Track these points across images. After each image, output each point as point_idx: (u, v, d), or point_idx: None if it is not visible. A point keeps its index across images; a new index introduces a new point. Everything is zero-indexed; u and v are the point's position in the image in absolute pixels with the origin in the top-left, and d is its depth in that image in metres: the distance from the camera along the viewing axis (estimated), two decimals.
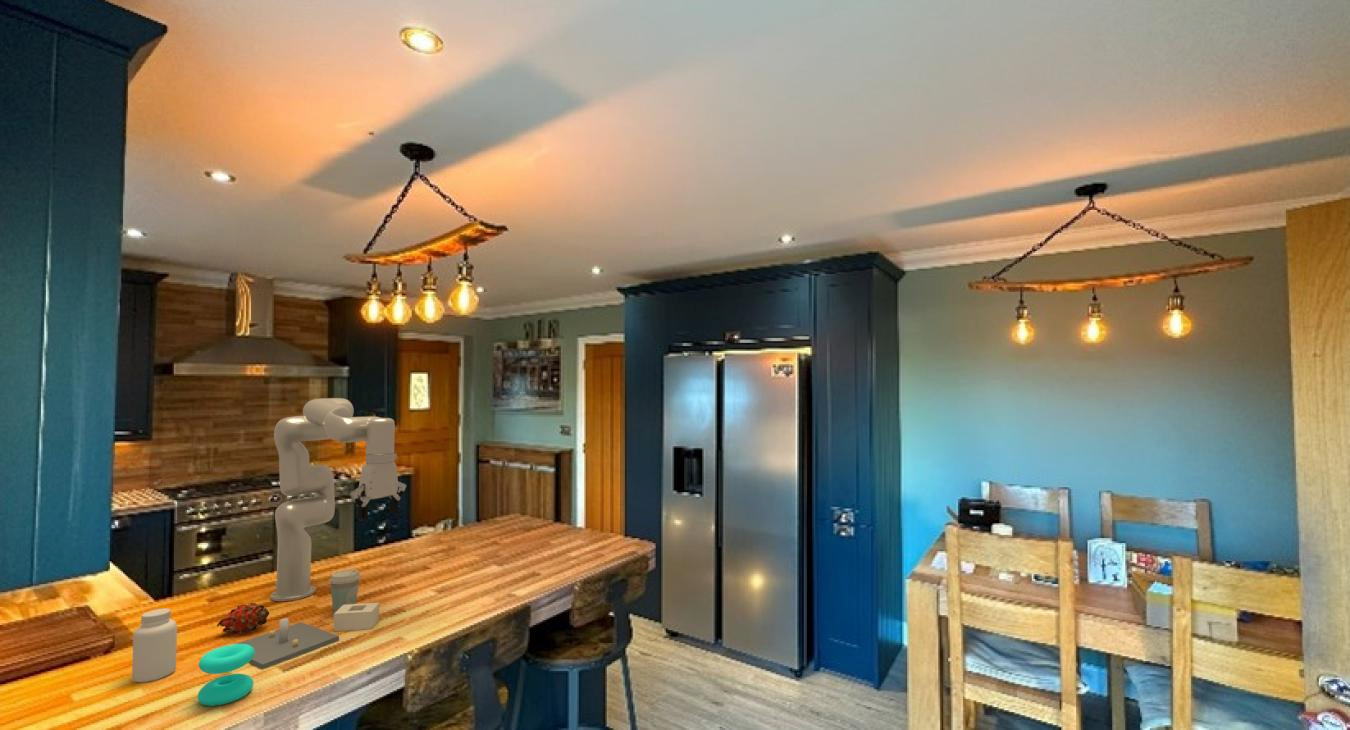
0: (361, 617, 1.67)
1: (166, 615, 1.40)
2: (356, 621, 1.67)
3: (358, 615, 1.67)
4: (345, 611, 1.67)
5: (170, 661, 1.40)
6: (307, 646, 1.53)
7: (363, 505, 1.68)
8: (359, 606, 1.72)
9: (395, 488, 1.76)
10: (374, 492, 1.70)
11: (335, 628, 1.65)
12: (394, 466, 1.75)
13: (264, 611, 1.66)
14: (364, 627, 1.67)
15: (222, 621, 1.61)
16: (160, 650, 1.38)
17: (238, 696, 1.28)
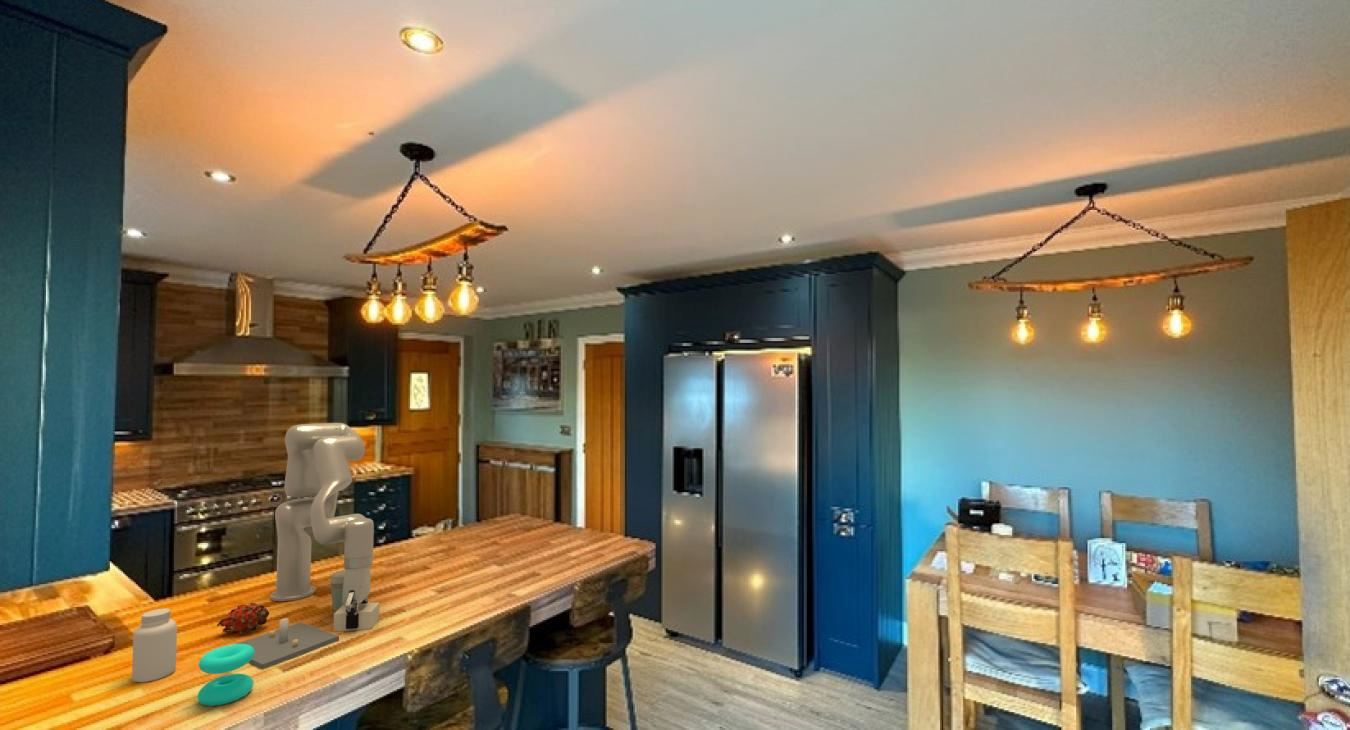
0: (361, 617, 1.67)
1: (166, 615, 1.40)
2: None
3: None
4: (345, 611, 1.67)
5: (170, 661, 1.40)
6: (307, 646, 1.53)
7: (356, 613, 1.66)
8: (359, 606, 1.72)
9: (369, 588, 1.74)
10: (362, 596, 1.68)
11: (335, 628, 1.65)
12: None
13: (264, 611, 1.66)
14: (364, 627, 1.67)
15: (222, 621, 1.61)
16: (160, 650, 1.38)
17: (238, 696, 1.28)
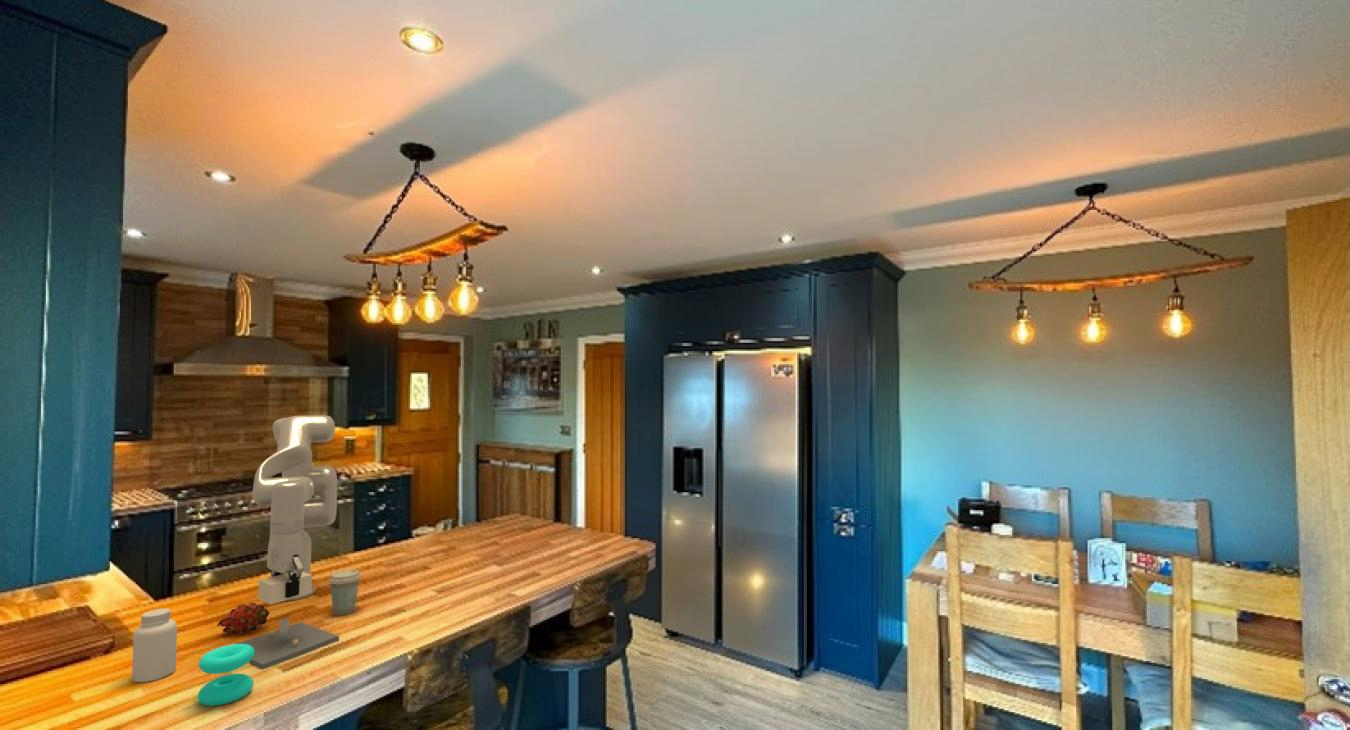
0: (301, 583, 1.57)
1: (166, 615, 1.40)
2: None
3: None
4: (280, 581, 1.53)
5: (170, 661, 1.40)
6: (307, 646, 1.53)
7: None
8: (281, 577, 1.58)
9: None
10: None
11: (272, 600, 1.51)
12: None
13: (264, 611, 1.66)
14: (304, 593, 1.57)
15: (222, 621, 1.61)
16: (160, 650, 1.38)
17: (237, 695, 1.28)
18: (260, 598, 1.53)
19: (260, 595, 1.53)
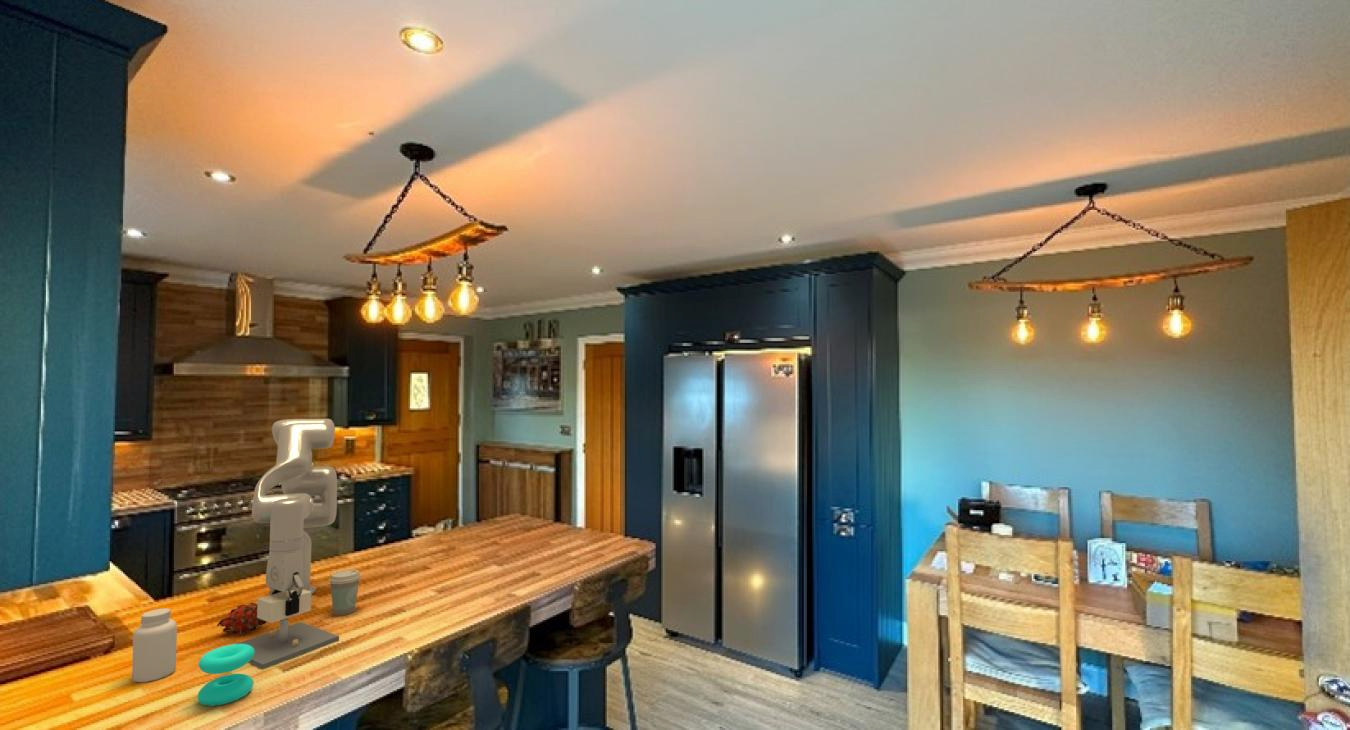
0: (300, 600, 1.57)
1: (166, 615, 1.40)
2: None
3: None
4: (280, 599, 1.53)
5: (170, 660, 1.40)
6: (307, 646, 1.53)
7: None
8: (280, 594, 1.57)
9: None
10: None
11: (273, 619, 1.51)
12: None
13: None
14: (304, 610, 1.57)
15: (222, 621, 1.61)
16: (160, 650, 1.38)
17: (238, 696, 1.28)
18: (259, 617, 1.53)
19: (259, 614, 1.53)
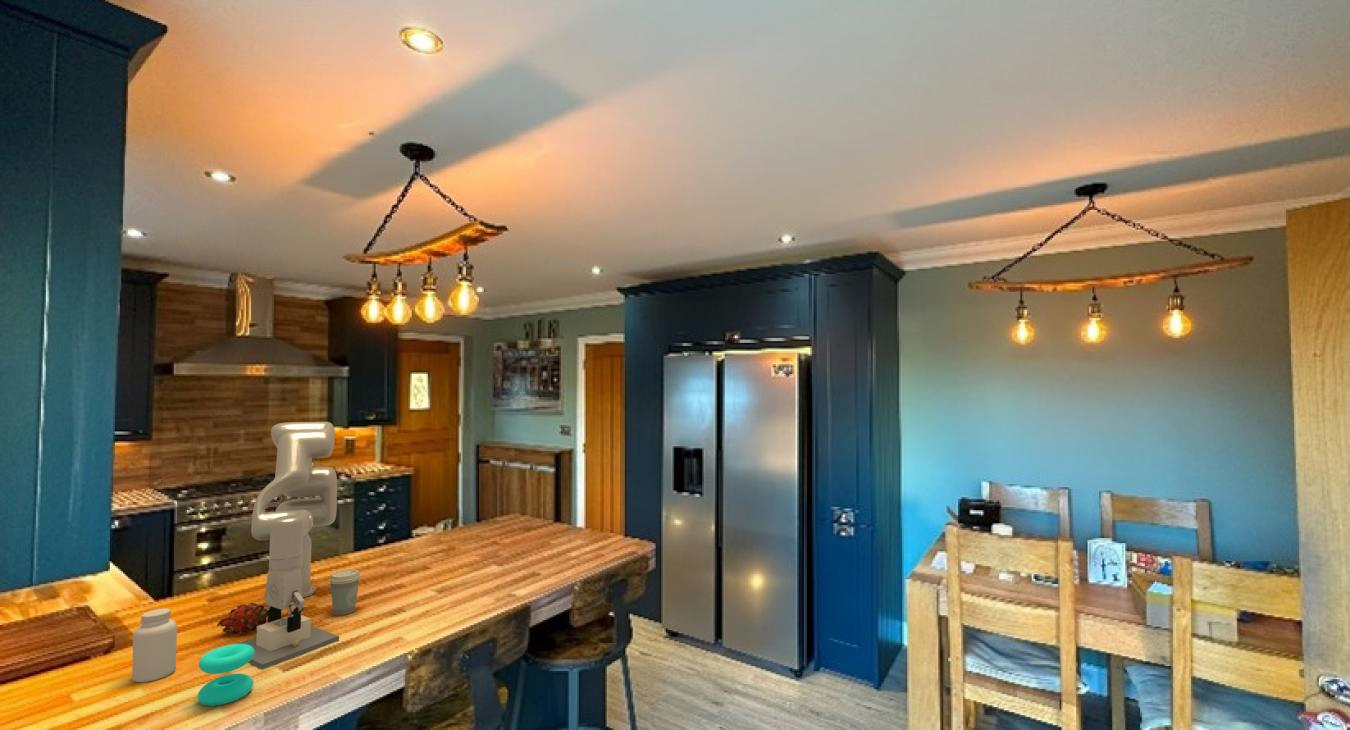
0: None
1: (166, 615, 1.40)
2: (294, 633, 1.55)
3: None
4: (280, 627, 1.53)
5: (170, 661, 1.40)
6: (307, 646, 1.53)
7: None
8: (279, 621, 1.57)
9: None
10: None
11: (272, 647, 1.51)
12: None
13: (264, 611, 1.66)
14: (303, 637, 1.57)
15: (222, 621, 1.61)
16: (160, 650, 1.38)
17: (238, 696, 1.28)
18: (259, 644, 1.53)
19: (259, 641, 1.53)
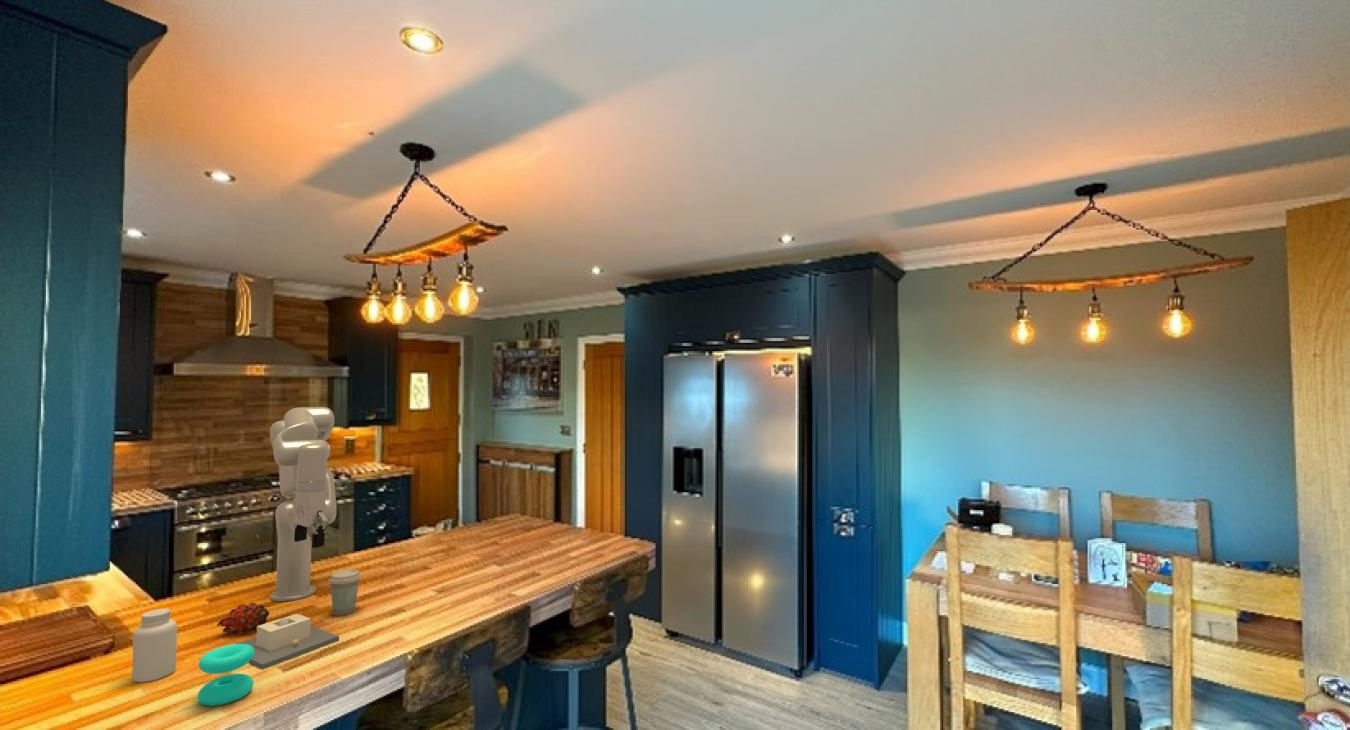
0: (300, 627, 1.57)
1: (166, 615, 1.40)
2: (294, 633, 1.55)
3: (297, 626, 1.56)
4: (280, 627, 1.53)
5: (170, 661, 1.40)
6: (307, 646, 1.53)
7: None
8: (279, 621, 1.57)
9: None
10: None
11: (272, 647, 1.51)
12: None
13: (264, 611, 1.66)
14: (303, 637, 1.57)
15: (222, 621, 1.61)
16: (160, 650, 1.38)
17: (238, 696, 1.28)
18: (259, 644, 1.53)
19: (259, 641, 1.53)
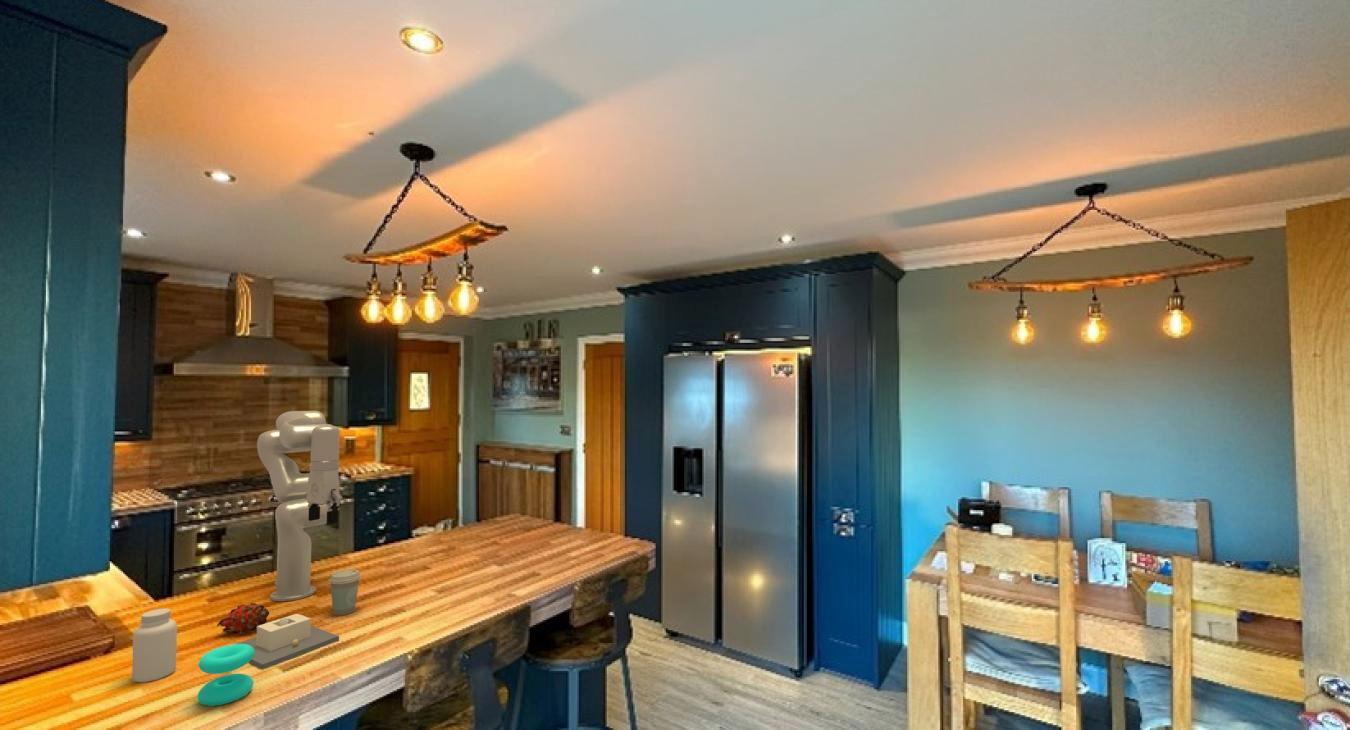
0: (300, 627, 1.57)
1: (166, 615, 1.40)
2: (294, 633, 1.55)
3: (297, 626, 1.56)
4: (280, 627, 1.53)
5: (170, 661, 1.40)
6: (307, 646, 1.53)
7: None
8: (279, 621, 1.57)
9: None
10: None
11: (272, 647, 1.51)
12: None
13: (264, 611, 1.66)
14: (303, 637, 1.57)
15: (222, 621, 1.61)
16: (160, 650, 1.38)
17: (238, 696, 1.28)
18: (259, 644, 1.53)
19: (259, 641, 1.53)
